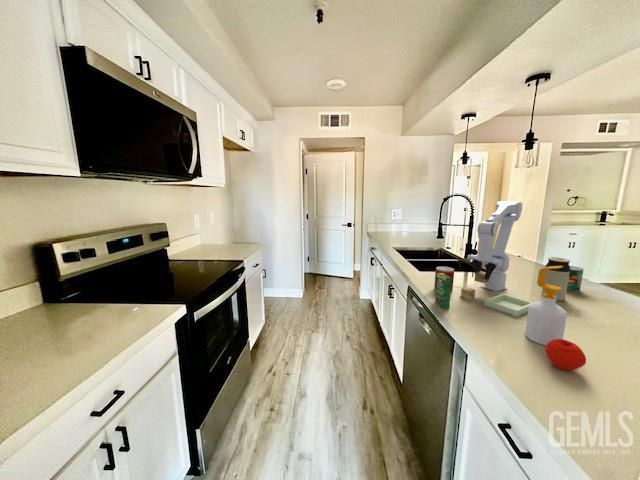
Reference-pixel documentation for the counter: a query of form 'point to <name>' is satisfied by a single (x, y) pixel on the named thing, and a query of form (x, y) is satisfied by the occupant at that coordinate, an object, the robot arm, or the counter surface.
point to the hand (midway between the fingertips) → (482, 277)
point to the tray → (508, 305)
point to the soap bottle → (546, 314)
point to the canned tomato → (574, 279)
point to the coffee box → (443, 290)
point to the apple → (565, 354)
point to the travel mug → (557, 276)
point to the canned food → (446, 271)
